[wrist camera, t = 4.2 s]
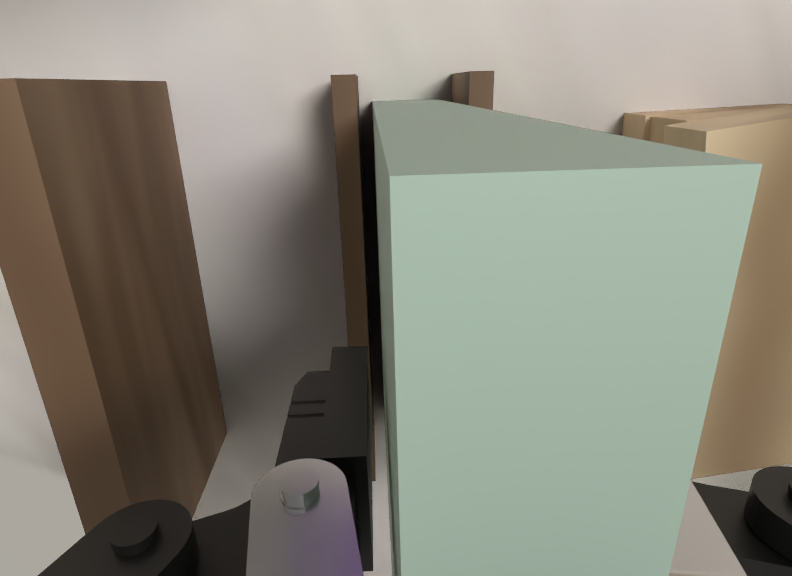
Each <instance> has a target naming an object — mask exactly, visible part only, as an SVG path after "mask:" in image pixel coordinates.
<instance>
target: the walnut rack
mask: <svg viewBox="0 0 792 576" xmlns="http://www.w3.org/2000/svg"><path fill="white" fill-rule="evenodd" d="M493 86H494V71H470V72H463V73H455V74H452V75H451V102H454V103H459V104H464V105H469V106H474V107H479V108H484V109H489V110H493ZM331 89H332V104H333V119H334V134H335V150H336V165H337V180H338V196H339V211H340V226H341V242H342V257H343V272H344V287H345V303H346V318H347V333H348V347H351V346H367V349H368V367H369V386H370V406H371V433H372V481H375V432H374V407H373V387H372V366H371V345H370V324H369V303H368V282H367V261H366V240H365V220H364V199H363V178H362V157H361V136H360V115H359V94H358V76H357V75H355V74H354V75H331ZM0 267H1V271H2V274H3V277H4V280H5V283H6V286H7V289H8V293H9V296H10V299H11V302H12V305H13V308H14V311H15V315H16V318H17V321H18V324H19V327H20V330H21V333H22V336H23V340H24V343H25V346H26V349H27V352H28V355H29V358H30V362H31V365H32V368H33V371H34V374H35V377H36V380H37V384H38V387H39V390H40V393H41V396H42V399H43V402H44V405H45V409H46V412H47V415H48V418H49V421H50V424H51V427H52V431H53V434H54V437H55V440H56V443H57V446H58V449H59V453H60V456H61V459H62V462H63V465H64V468H65V471H66V474H67V478H68V481H69V483H70V487H71V490H72V493H73V496H74V500H75V503H76V506H77V509H78V512H79V515H80V518H81V521H82V525H83V528H84V531H85V534H87V533H88V532H89V531H91V530H92V529H93V528H94V527H95V526H96V525H98V524H99V523H100V522H101V521H103V520H104V519H105V518H107V517H108V516H110V515H112V514H113V513H115V512H117V511H119V510H121V509H123V508H125V507H127V506H130V505H132V504H136V503H139V502H143V501H148V500H158V499H162V500H171V501H175V502H177V503H179V504H181V505H183V506H184V507H185V508H186V509H187V510H188V511H189V513H190V515H191V518H192V517H193V515H194V512H195V510H196V508H197V505H198V503H199V500H200V498H201V495H202V493H203V490H204V488H205V485H206V483H207V480H208V478H209V476H210V473H211V471H212V468H213V466H214V463H215V461H216V458H217V456H218V453H219V451H220V448H221V446H222V444H223V441H224V439H225V436H226V434H227V432H226V426H225V420H224V415H223V409H222V403H221V397H220V391H219V386H218V380H217V374H216V368H215V362H214V357H213V351H212V345H211V339H210V333H209V328H208V322H207V316H206V310H205V304H204V299H203V293H202V287H201V281H200V276H199V270H198V264H197V258H196V252H195V247H194V241H193V235H192V229H191V223H190V218H189V212H188V206H187V200H186V194H185V189H184V183H183V177H182V171H181V166H180V160H179V154H178V148H177V142H176V137H175V131H174V125H173V119H172V113H171V108H170V102H169V96H168V90H167V84H166V81H118V80H70V79H21V78H10V79H0Z"/></svg>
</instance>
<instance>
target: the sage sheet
mask: <svg viewBox="0 0 792 576" xmlns="http://www.w3.org/2000/svg"><path fill="white" fill-rule="evenodd" d="M372 111H373V137H374V162H375V188H376V213H377V239H378V265H379V290H380V316H381V341H382V367H383V392H384V416H385V437H386V457H387V478H388V498H389V519H390V540H391V560H392V576H669V573H670V569H671V564H672V560H673V555H674V551H675V547H676V542H677V538H678V533H679V529H680V525H681V520H682V516H683V511H684V507H685V503H686V498H687V494H688V490H689V485H690V481H691V476H692V472H693V468H694V463H695V459H696V454H697V450H698V446H699V441H700V437H701V432H702V428H703V424H704V419H705V415H706V410H707V406H708V402H709V397H710V393H711V388H712V384H713V380H714V375H715V371H716V366H717V362H718V358H719V353H720V349H721V344H722V340H723V336H724V331H725V327H726V323H727V318H728V314H729V309H730V305H731V301H732V296H733V292H734V287H735V283H736V279H737V274H738V270H739V265H740V261H741V257H742V252H743V248H744V243H745V239H746V235H747V230H748V226H749V221H750V217H751V213H752V208H753V204H754V199H755V195H756V191H757V186H758V182H759V178H760V173H761V169H762V164H761V163H756V162H751V161H746V160H741V159H736V158H731V157H726V156H721V155H716V154H711V153H706V152H701V151H696V150H691V149H686V148H681V147H676V146H671V145H666V144H661V143H656V142H651V141H646V140H640V139H635V138H630V137H625V136H620V135H615V134H610V133H605V132H600V131H595V130H590V129H585V128H580V127H575V126H570V125H565V124H560V123H555V122H550V121H545V120H540V119H535V118H530V117H525V116H520V115H514V114H509V113H504V112H499V111H494V110H489V109H484V108H479V107H474V106H469V105H464V104H459V103H454V102H449V101H444V100H439V99H431V100H395V101H372Z"/></svg>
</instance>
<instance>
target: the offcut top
mask: <svg viewBox="0 0 792 576" xmlns="http://www.w3.org/2000/svg"><path fill="white" fill-rule="evenodd" d="M663 144H666V145H671V146H676V147H681V148H686V149H691V150H696V151H701V152H706V153H711V154H716V155H721V156H726V157H731V158H736V159H741V160H746V161H751V162H756V163H761V164H762V169H761V173H760V178H759V182H758V186H757V191H756V195H755V199H754V204H753V208H752V213H751V217H750V221H749V226H748V230H747V235H746V239H745V243H744V248H743V252H742V257H741V261H740V265H739V270H738V274H737V279H736V283H735V287H734V292H733V296H732V301H731V305H730V309H729V314H728V318H727V323H726V327H725V331H724V336H723V340H722V344H721V349H720V353H719V358H718V362H717V366H716V371H715V375H714V380H713V384H712V388H711V393H710V397H709V402H708V406H707V410H706V415H705V419H704V424H703V428H702V432H701V437H700V441H699V446H698V450H697V454H696V459H695V463H694V468H693V472H692V476H691V479H695V478H701V477H708V476H714V475H720V474H727V473H733V472H739V471H746V470H752V469H758V468H765V467H771V466H777V465H784V464H790V463H792V105H786V106H780V107H774V108H768V109H762V110H756V111H750V112H744V113H738V114H732V115H726V116H720V117H714V118H707V119H701V120H695V121H689V122H683V123H677V124H671V125H665V126H664V142H663Z"/></svg>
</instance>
